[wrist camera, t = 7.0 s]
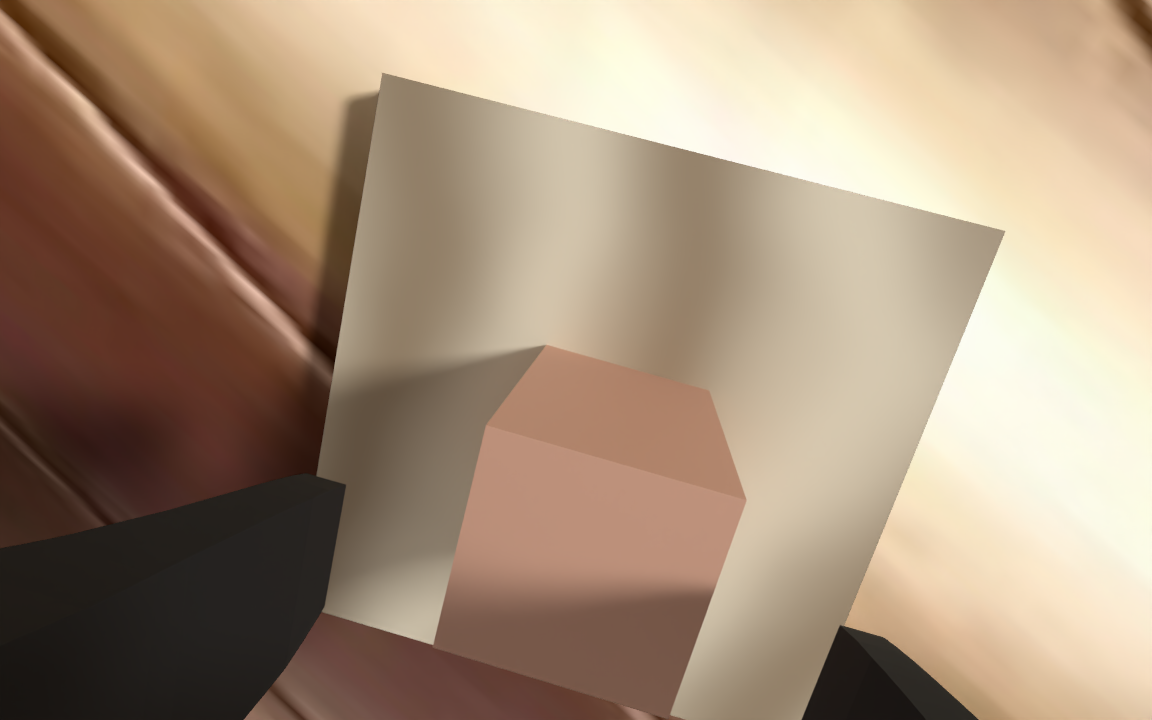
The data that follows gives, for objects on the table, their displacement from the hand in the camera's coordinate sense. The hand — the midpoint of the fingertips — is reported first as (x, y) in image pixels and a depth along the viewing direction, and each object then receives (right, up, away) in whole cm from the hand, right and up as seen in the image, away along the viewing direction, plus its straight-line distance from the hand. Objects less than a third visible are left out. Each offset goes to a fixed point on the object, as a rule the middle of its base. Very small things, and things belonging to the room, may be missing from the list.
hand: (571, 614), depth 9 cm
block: (+1, +2, +7) cm, 7 cm away
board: (+1, +2, +8) cm, 9 cm away
